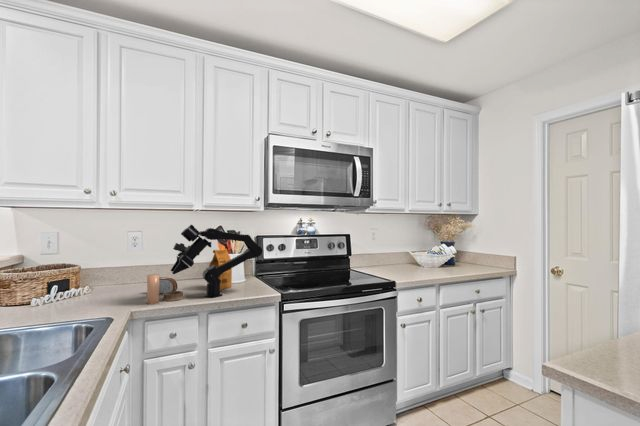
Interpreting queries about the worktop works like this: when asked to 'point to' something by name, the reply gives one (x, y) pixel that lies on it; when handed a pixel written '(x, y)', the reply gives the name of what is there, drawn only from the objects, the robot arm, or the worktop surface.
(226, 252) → the coffee package
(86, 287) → the worktop surface
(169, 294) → the holder
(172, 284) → the tin
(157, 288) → the canister
